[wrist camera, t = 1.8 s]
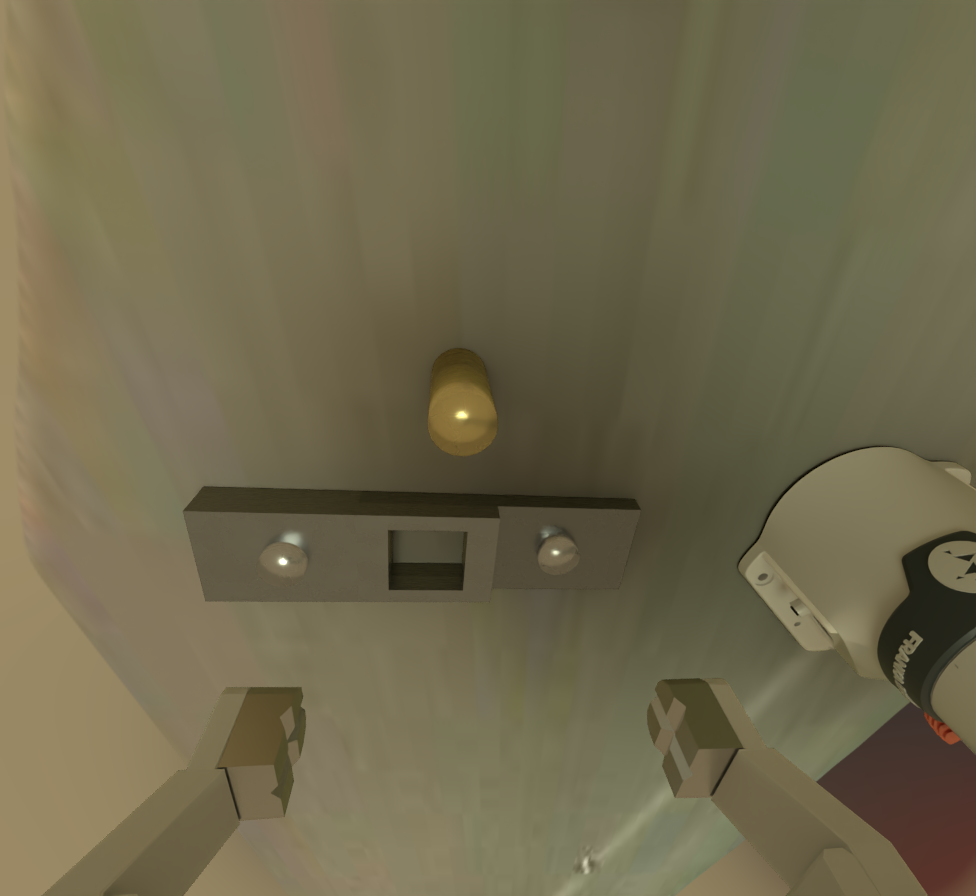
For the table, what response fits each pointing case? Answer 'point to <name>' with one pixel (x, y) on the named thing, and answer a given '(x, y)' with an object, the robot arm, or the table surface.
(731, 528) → the table surface
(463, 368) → the brass pin
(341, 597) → the latch strike plate
